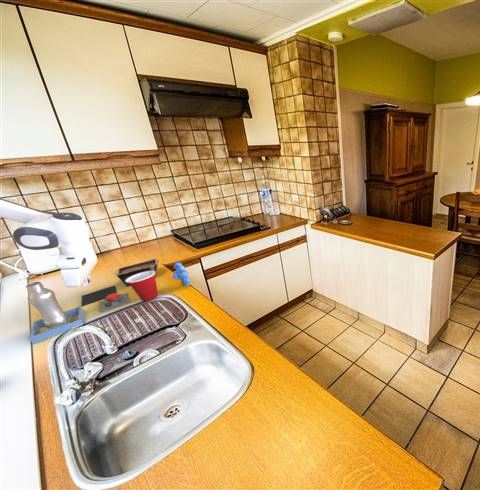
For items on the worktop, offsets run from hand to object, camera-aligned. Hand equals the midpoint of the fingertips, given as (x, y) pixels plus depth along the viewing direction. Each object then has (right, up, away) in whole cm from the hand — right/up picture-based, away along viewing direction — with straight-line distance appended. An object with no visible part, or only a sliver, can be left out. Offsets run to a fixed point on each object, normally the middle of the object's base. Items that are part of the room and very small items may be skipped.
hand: (86, 283), depth 108 cm
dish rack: (-8, -17, -2) cm, 19 cm away
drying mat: (-13, -8, +18) cm, 24 cm away
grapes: (+24, -4, +24) cm, 34 cm away
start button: (+1, -8, +10) cm, 13 cm away
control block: (+1, -11, +12) cm, 16 cm away
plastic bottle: (-8, -17, -2) cm, 19 cm away
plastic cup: (+14, -9, +15) cm, 22 cm away
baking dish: (-5, -2, +33) cm, 33 cm away
